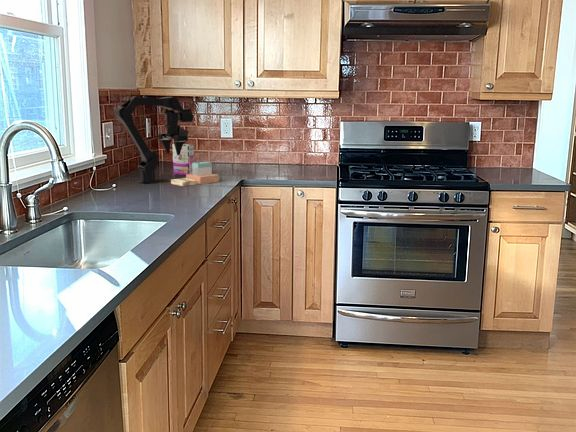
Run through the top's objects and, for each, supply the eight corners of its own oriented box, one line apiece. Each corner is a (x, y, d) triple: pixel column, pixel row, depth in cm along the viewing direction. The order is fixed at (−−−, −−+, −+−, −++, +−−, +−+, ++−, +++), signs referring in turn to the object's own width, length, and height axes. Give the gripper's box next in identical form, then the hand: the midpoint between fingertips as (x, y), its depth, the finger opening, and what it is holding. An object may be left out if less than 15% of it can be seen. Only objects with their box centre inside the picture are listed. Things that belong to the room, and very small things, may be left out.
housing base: (211, 174, 283) (211, 166, 282) (198, 176, 278) (198, 167, 277) (205, 173, 286) (205, 165, 286) (192, 174, 281) (192, 166, 280)
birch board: (182, 186, 269) (182, 182, 269) (171, 183, 276) (170, 179, 276) (196, 184, 275) (196, 180, 274) (184, 181, 282) (184, 177, 281)
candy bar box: (195, 175, 304) (194, 144, 300) (189, 176, 300) (188, 145, 296) (178, 173, 309) (177, 143, 305) (172, 174, 305) (171, 144, 301)
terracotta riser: (200, 184, 275) (200, 177, 274) (186, 181, 283) (186, 174, 283) (218, 181, 282) (218, 175, 282) (204, 179, 291) (204, 172, 290)
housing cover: (211, 166, 282) (211, 161, 281) (198, 168, 276) (198, 162, 276) (205, 165, 285) (205, 160, 285) (192, 166, 280) (192, 161, 279)
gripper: (196, 123, 279) (197, 154, 283) (175, 121, 292) (176, 151, 296) (177, 124, 272) (178, 156, 275) (156, 122, 285) (157, 153, 288)
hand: (173, 154), depth 284 cm, fingers open, 9 cm apart
